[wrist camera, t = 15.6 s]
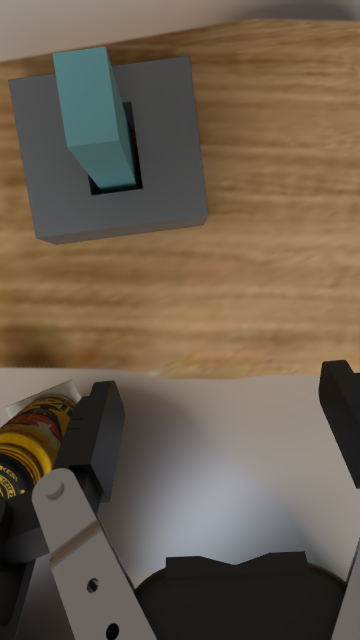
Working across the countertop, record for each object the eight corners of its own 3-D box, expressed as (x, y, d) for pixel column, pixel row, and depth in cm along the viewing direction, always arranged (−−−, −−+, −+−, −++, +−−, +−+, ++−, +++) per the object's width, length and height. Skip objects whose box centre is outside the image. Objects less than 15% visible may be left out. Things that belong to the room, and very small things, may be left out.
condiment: (72, 378, 33) (14, 432, 21) (107, 453, 34) (71, 546, 22) (5, 406, 33) (-91, 475, 21) (42, 480, 34) (-30, 587, 22)
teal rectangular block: (132, 139, 31) (105, 46, 19) (140, 195, 31) (119, 140, 19) (100, 143, 31) (52, 53, 19) (108, 199, 31) (67, 146, 19)
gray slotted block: (187, 89, 30) (189, 55, 26) (203, 225, 31) (208, 215, 27) (33, 110, 30) (8, 79, 26) (55, 244, 31) (36, 238, 27)
